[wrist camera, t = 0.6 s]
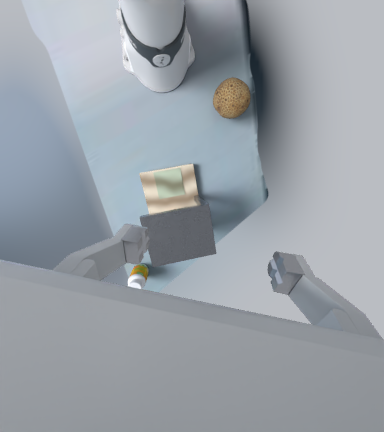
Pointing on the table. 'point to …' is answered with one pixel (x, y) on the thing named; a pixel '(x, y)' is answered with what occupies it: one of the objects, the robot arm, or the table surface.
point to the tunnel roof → (180, 233)
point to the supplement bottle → (138, 276)
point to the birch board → (169, 188)
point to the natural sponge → (231, 98)
